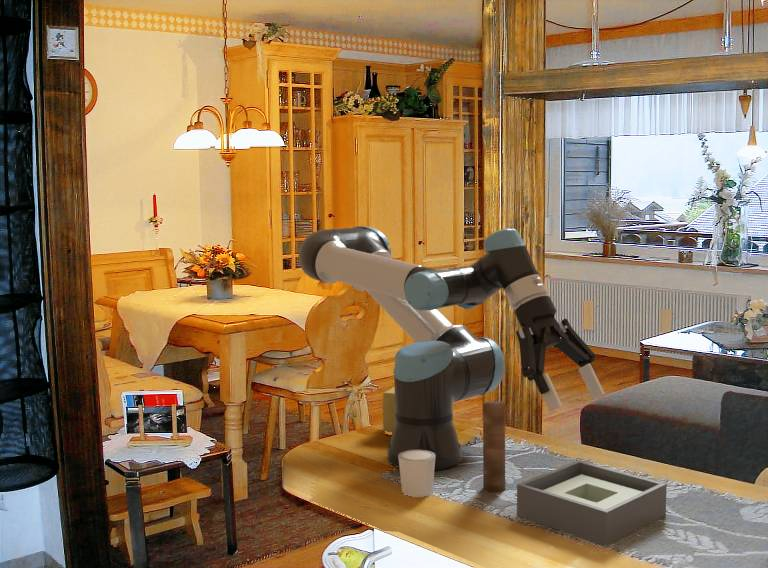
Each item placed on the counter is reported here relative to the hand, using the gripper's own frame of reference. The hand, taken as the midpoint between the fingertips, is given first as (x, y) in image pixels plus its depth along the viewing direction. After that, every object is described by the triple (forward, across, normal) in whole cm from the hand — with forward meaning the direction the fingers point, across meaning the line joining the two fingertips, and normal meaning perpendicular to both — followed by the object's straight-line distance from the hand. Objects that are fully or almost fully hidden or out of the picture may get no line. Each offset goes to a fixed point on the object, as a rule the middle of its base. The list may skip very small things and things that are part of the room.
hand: (578, 402), depth 168 cm
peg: (+9, -16, +14) cm, 23 cm away
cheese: (-11, 0, +45) cm, 46 cm away
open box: (+19, -14, -3) cm, 24 cm away
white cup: (+4, -27, +22) cm, 35 cm away
